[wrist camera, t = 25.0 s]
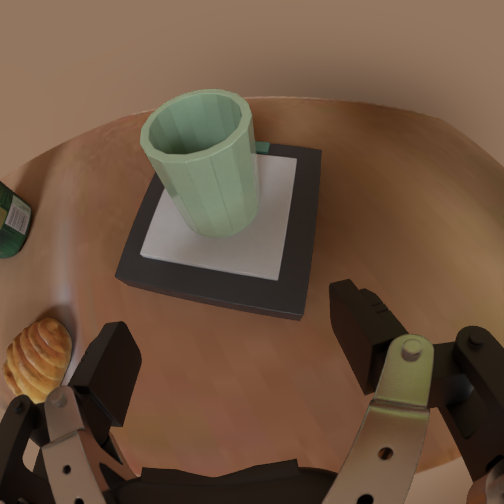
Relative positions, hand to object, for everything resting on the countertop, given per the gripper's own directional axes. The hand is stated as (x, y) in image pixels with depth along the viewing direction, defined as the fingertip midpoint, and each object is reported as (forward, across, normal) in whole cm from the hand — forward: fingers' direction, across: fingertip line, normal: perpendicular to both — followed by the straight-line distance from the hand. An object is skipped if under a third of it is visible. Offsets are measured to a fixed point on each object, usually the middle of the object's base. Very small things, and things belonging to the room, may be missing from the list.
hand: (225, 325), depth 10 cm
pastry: (+7, +20, +7) cm, 23 cm away
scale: (+14, 0, 0) cm, 14 cm away
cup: (+12, 0, -2) cm, 12 cm away
